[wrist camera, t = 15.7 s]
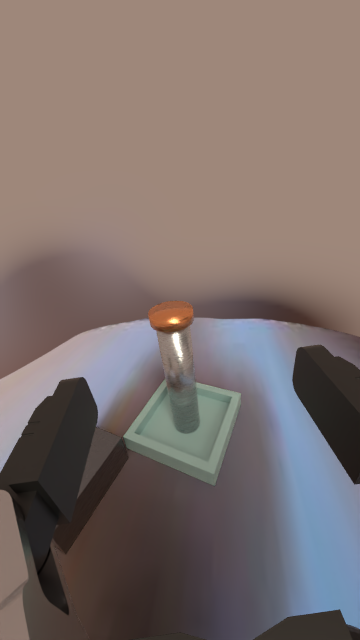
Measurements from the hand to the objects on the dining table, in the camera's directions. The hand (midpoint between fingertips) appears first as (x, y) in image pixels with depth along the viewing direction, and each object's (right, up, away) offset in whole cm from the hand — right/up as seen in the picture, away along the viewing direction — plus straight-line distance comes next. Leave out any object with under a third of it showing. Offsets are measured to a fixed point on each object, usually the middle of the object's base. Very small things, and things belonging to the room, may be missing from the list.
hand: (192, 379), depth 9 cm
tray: (+1, -12, +25) cm, 28 cm away
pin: (+1, -12, +24) cm, 27 cm away
